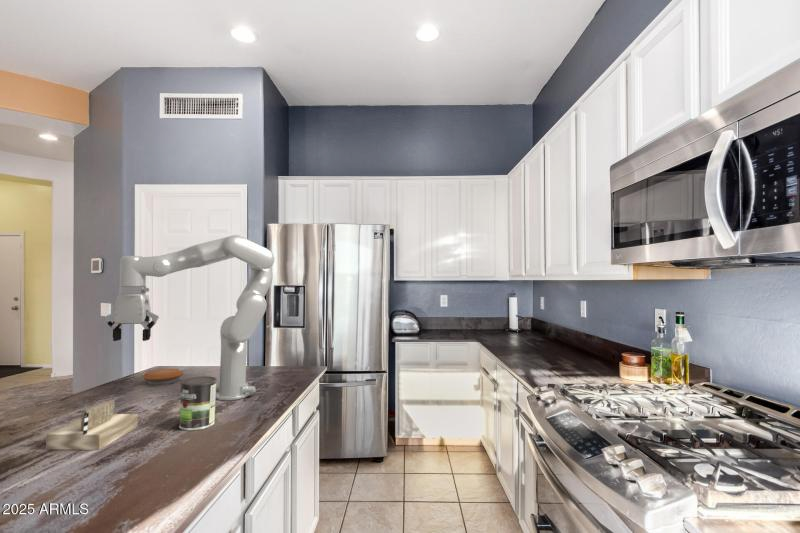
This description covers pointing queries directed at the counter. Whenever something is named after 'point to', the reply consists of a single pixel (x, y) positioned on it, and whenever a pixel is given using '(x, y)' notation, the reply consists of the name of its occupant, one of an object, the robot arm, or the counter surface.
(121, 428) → the birch block
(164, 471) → the counter surface
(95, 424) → the stone tablet
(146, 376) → the pie
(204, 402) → the coffee can
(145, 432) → the counter surface
